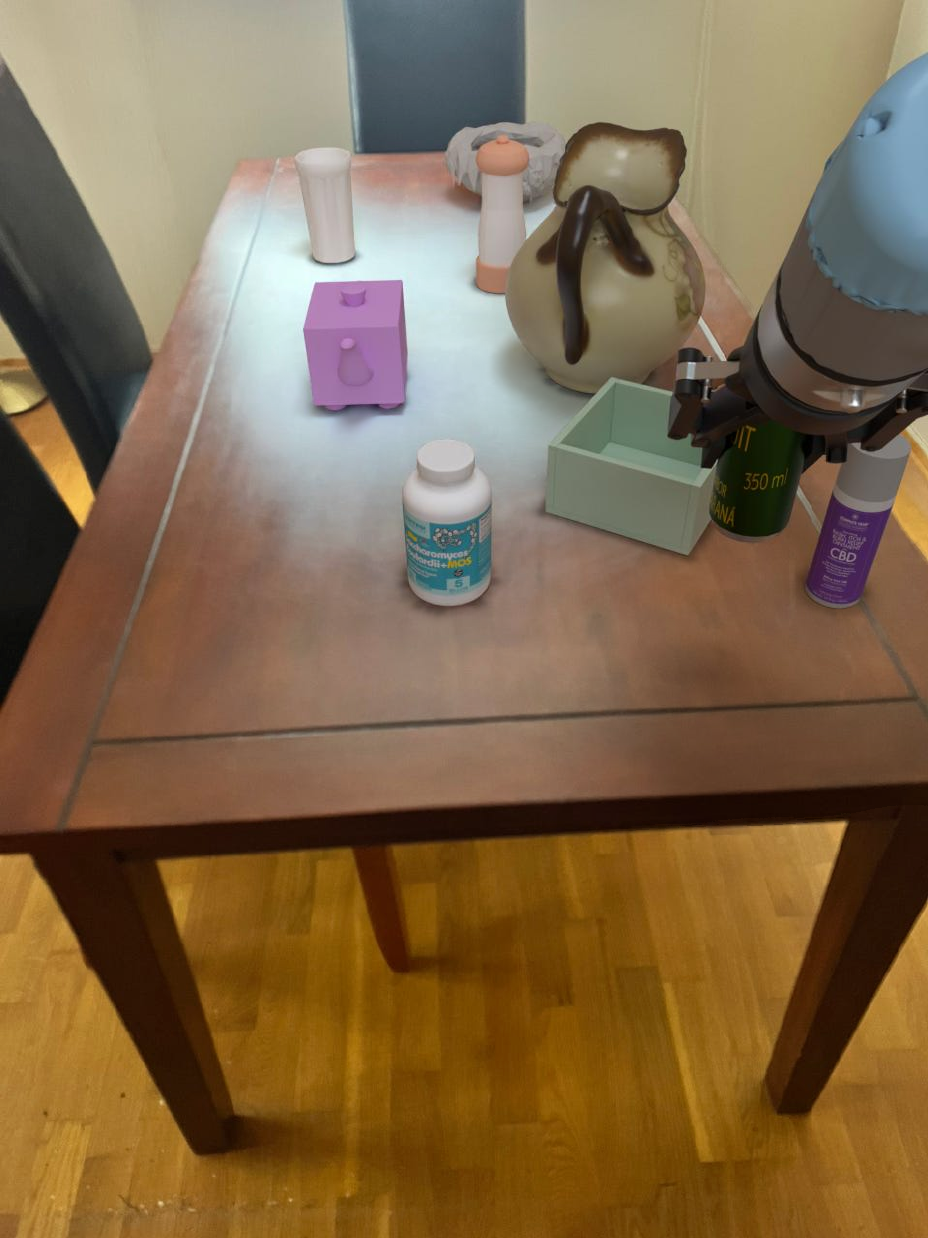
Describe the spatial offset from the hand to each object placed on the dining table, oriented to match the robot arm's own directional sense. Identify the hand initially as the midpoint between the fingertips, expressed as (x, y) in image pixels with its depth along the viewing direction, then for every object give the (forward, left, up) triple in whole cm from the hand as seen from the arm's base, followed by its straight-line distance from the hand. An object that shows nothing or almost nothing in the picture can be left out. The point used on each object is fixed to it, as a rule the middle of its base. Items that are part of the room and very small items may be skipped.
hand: (752, 452), depth 64 cm
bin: (+13, -17, -18) cm, 28 cm away
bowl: (+66, -88, -18) cm, 111 cm away
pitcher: (+27, -38, -18) cm, 50 cm away
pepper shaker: (+50, -56, -18) cm, 77 cm away
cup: (+77, -53, -18) cm, 95 cm away
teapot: (+49, -20, -18) cm, 56 cm away
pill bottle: (+23, +4, -18) cm, 30 cm away
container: (-7, -11, -18) cm, 23 cm away
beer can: (-1, +3, -4) cm, 5 cm away
